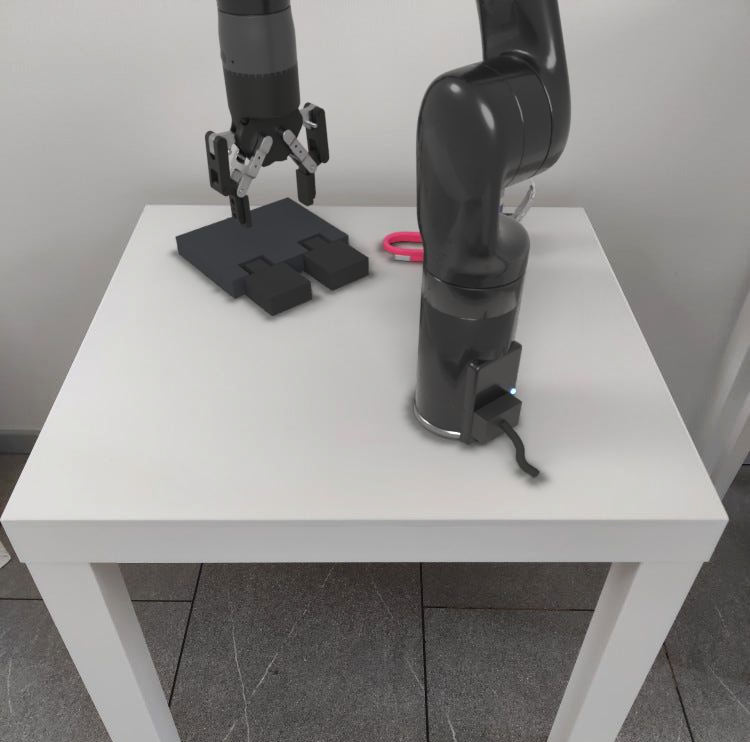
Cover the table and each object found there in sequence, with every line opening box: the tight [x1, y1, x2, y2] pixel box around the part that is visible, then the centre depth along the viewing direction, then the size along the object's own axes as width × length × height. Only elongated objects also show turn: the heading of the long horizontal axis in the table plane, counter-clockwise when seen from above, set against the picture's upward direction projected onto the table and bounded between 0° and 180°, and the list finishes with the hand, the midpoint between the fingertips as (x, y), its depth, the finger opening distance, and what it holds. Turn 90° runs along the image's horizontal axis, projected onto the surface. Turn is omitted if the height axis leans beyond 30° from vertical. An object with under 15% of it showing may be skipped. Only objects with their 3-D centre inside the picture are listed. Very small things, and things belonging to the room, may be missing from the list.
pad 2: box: [243, 259, 313, 317], centre depth 95 cm, size 8×6×2 cm
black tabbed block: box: [303, 237, 370, 291], centre depth 99 cm, size 8×6×2 cm
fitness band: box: [382, 231, 423, 262], centre depth 102 cm, size 8×6×2 cm
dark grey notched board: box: [175, 196, 350, 299], centre depth 101 cm, size 14×18×2 cm
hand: (276, 214), depth 88 cm, fingers open, 8 cm apart
